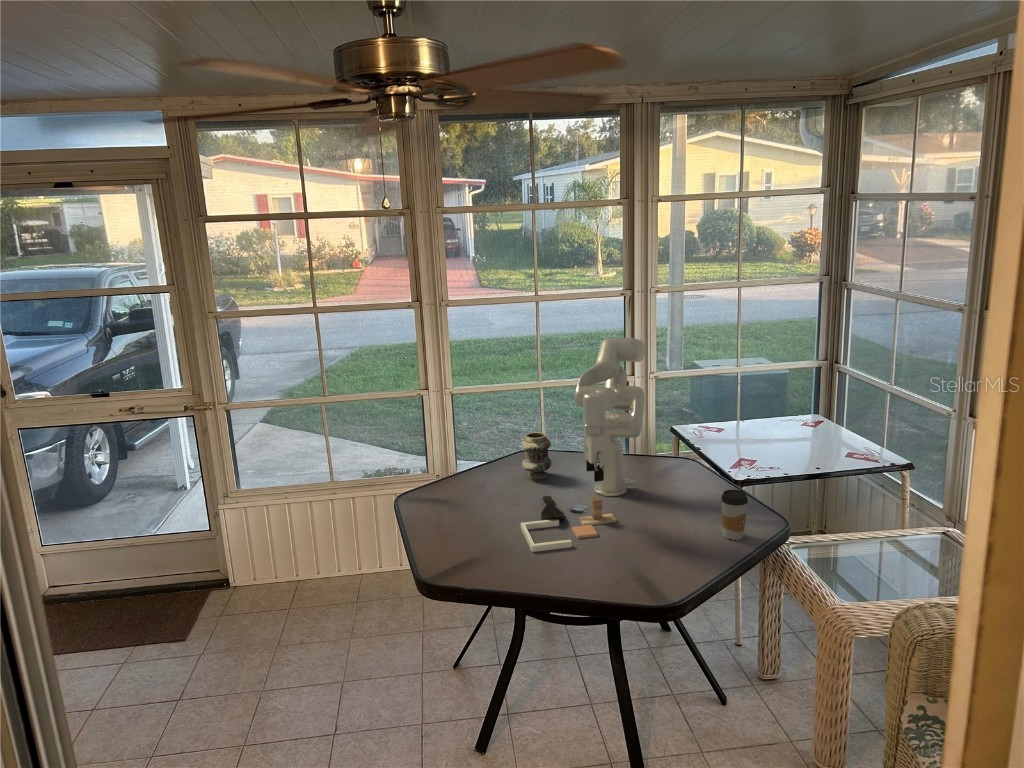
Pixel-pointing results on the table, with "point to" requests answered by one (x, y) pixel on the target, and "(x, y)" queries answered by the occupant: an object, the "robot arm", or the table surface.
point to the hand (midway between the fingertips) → (594, 475)
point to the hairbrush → (551, 510)
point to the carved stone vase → (536, 456)
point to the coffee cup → (734, 513)
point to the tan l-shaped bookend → (597, 514)
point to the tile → (584, 531)
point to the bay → (547, 544)
